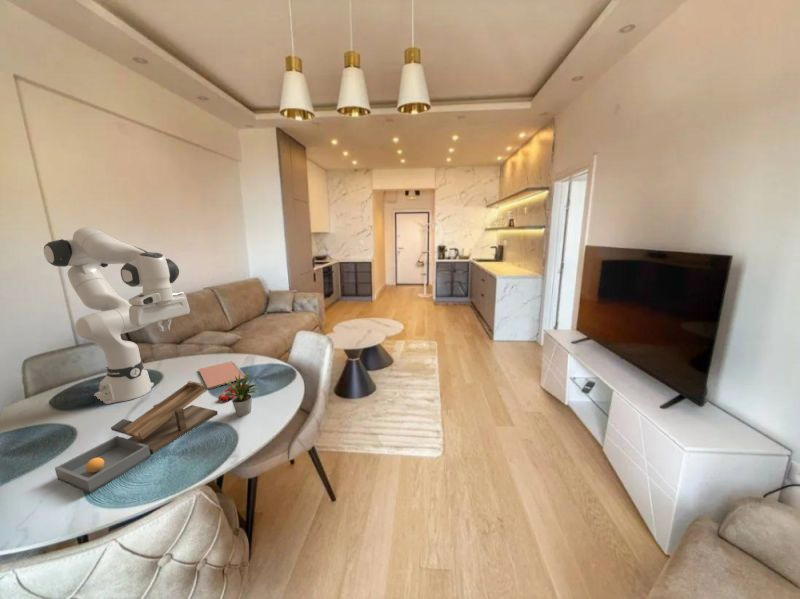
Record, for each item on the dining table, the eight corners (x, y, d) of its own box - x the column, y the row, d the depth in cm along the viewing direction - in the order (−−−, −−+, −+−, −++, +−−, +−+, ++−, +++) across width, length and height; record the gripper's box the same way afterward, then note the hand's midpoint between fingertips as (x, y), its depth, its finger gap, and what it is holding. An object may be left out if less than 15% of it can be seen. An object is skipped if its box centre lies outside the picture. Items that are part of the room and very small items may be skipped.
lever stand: (125, 444, 108) (120, 420, 106) (192, 408, 130) (188, 388, 128) (153, 453, 103) (148, 428, 101) (217, 414, 125) (214, 393, 123)
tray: (57, 479, 93) (54, 467, 92) (119, 446, 107) (117, 435, 106) (90, 493, 87) (87, 481, 87) (150, 456, 102) (148, 445, 101)
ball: (88, 455, 94) (102, 457, 98) (79, 470, 92) (93, 471, 96) (97, 458, 93) (110, 460, 96) (87, 473, 91) (101, 474, 94)
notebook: (247, 380, 156) (247, 376, 155) (208, 391, 145) (207, 387, 145) (234, 363, 176) (233, 360, 176) (198, 372, 166) (198, 368, 165)
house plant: (228, 429, 115) (222, 388, 112) (215, 415, 124) (209, 376, 121) (267, 413, 125) (262, 374, 122) (252, 401, 135) (247, 365, 131)
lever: (113, 432, 108) (107, 422, 106) (178, 386, 129) (174, 378, 127) (144, 441, 103) (138, 431, 101) (207, 392, 123) (203, 383, 122)
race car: (225, 404, 133) (223, 395, 132) (215, 402, 135) (214, 393, 134) (250, 389, 145) (249, 381, 144) (241, 388, 147) (240, 380, 146)
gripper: (179, 290, 131) (185, 323, 134) (123, 300, 112) (130, 338, 115) (190, 291, 129) (195, 324, 131) (134, 301, 110) (142, 340, 113)
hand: (164, 331), depth 123 cm, fingers closed
